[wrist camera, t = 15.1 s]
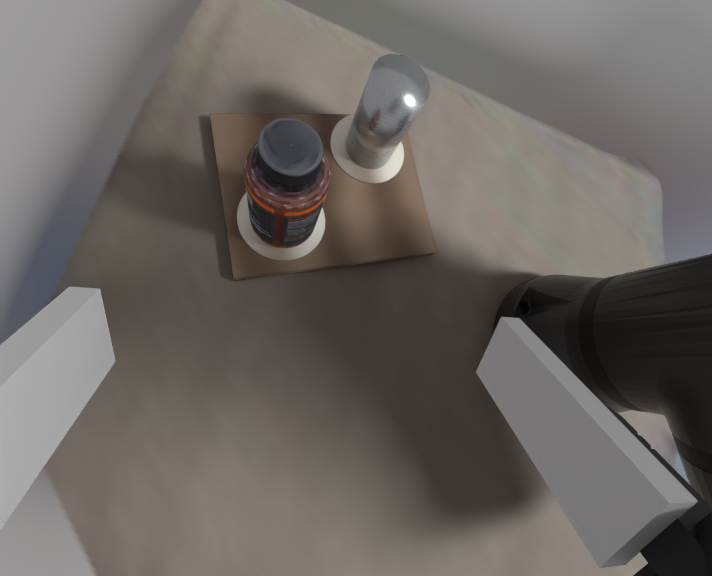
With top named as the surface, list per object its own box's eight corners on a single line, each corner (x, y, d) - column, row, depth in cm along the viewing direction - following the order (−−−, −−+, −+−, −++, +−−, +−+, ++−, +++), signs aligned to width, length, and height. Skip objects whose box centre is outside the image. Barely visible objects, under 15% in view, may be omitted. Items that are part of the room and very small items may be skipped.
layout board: (399, 120, 38) (403, 113, 37) (431, 254, 36) (436, 251, 35) (211, 120, 32) (209, 112, 31) (234, 280, 30) (233, 277, 29)
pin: (384, 127, 36) (422, 56, 28) (394, 169, 36) (435, 109, 27) (340, 127, 35) (365, 52, 26) (349, 171, 34) (378, 109, 26)
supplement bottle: (327, 216, 32) (358, 146, 22) (289, 263, 30) (303, 211, 20) (276, 177, 32) (283, 85, 21) (235, 222, 30) (218, 146, 19)
